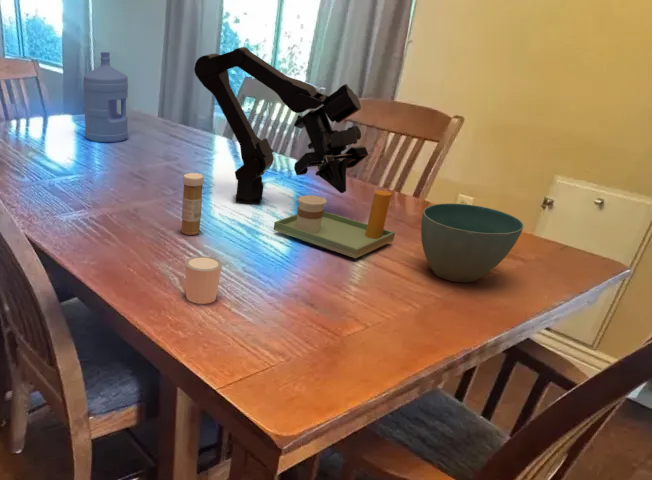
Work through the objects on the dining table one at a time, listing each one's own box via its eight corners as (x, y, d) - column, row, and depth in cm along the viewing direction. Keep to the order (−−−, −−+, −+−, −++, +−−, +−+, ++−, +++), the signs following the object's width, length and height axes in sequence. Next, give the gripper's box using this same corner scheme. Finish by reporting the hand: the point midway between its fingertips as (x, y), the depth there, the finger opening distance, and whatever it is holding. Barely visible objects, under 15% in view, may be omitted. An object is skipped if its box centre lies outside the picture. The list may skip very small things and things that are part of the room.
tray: (273, 230, 144) (279, 184, 138) (312, 215, 153) (320, 172, 148) (355, 258, 131) (366, 209, 125) (393, 240, 140) (405, 194, 134)
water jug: (80, 141, 218) (76, 54, 203) (91, 132, 231) (88, 49, 216) (123, 144, 216) (122, 56, 201) (131, 134, 229) (131, 51, 214)
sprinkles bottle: (194, 227, 147) (197, 171, 140) (203, 234, 144) (207, 176, 136) (177, 230, 145) (179, 173, 138) (186, 236, 142) (189, 178, 135)
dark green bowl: (389, 263, 131) (403, 208, 125) (453, 252, 137) (469, 198, 131) (455, 299, 117) (475, 238, 111) (522, 285, 123) (545, 226, 117)
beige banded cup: (288, 228, 143) (292, 198, 139) (304, 222, 147) (309, 193, 143) (310, 236, 139) (316, 205, 135) (326, 229, 143) (332, 200, 139)
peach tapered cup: (180, 289, 118) (182, 255, 115) (215, 288, 119) (218, 255, 115) (185, 305, 113) (187, 270, 109) (222, 305, 113) (225, 270, 109)
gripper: (310, 116, 137) (335, 179, 135) (371, 110, 145) (395, 170, 143) (283, 144, 147) (305, 203, 145) (341, 138, 155) (363, 193, 153)
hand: (343, 192), depth 146 cm, fingers closed
